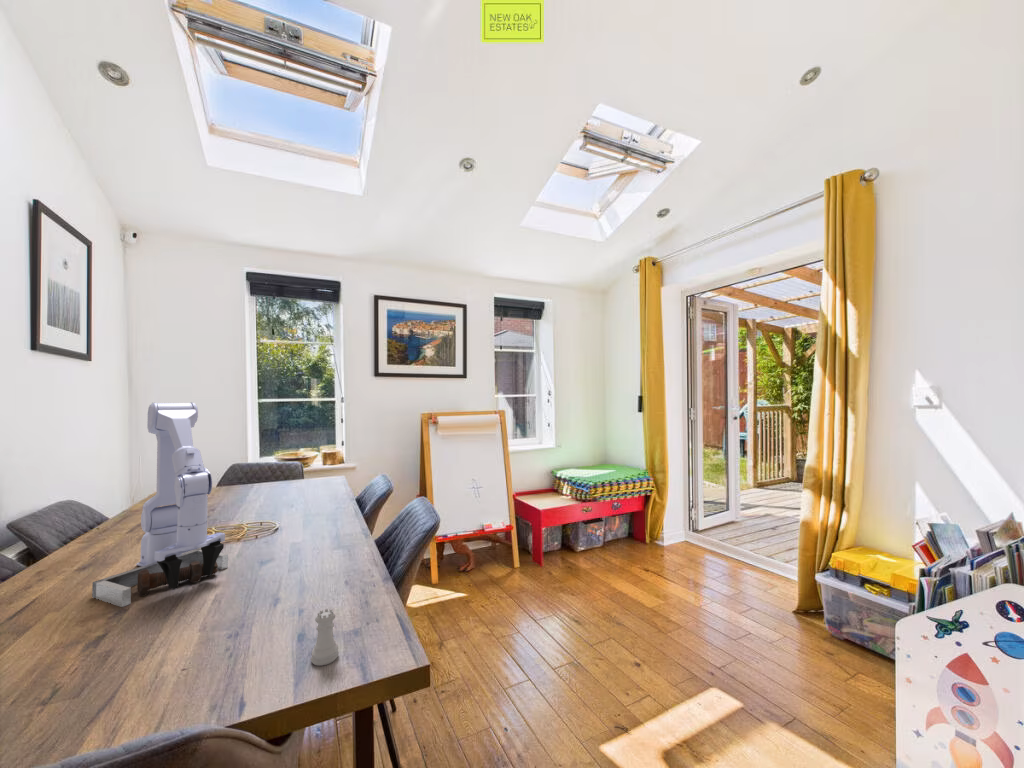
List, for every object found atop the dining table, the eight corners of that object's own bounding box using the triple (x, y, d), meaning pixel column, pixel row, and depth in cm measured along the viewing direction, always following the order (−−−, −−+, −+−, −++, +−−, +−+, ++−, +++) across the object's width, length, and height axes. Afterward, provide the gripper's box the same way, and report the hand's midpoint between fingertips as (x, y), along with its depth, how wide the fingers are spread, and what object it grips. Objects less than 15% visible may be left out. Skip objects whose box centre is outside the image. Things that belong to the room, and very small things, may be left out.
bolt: (216, 583, 108) (138, 601, 97) (212, 568, 111) (136, 584, 100) (220, 565, 106) (141, 582, 95) (216, 551, 109) (139, 566, 98)
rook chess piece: (316, 651, 76) (317, 606, 76) (342, 650, 76) (342, 605, 76) (306, 667, 71) (307, 619, 72) (333, 666, 72) (334, 618, 72)
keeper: (92, 597, 96) (92, 582, 96) (199, 561, 117) (199, 548, 117) (122, 607, 91) (122, 590, 92) (227, 567, 113) (228, 554, 113)
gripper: (169, 534, 93) (167, 597, 93) (233, 517, 106) (232, 571, 106) (149, 530, 96) (147, 591, 95) (214, 514, 109) (213, 567, 109)
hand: (191, 581), depth 101 cm, fingers open, 7 cm apart
